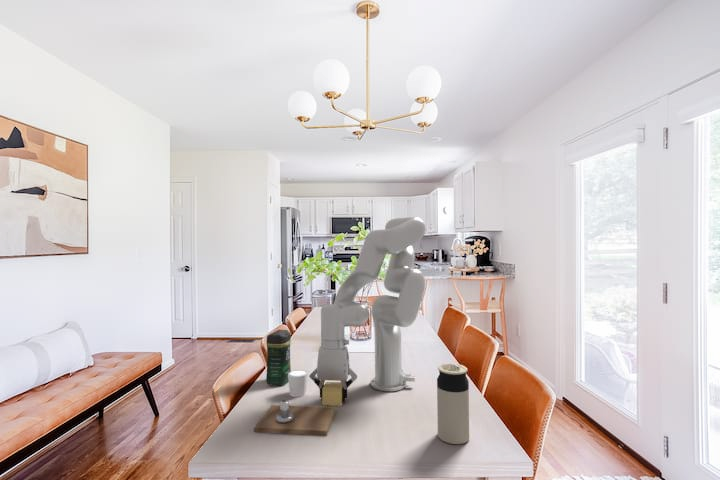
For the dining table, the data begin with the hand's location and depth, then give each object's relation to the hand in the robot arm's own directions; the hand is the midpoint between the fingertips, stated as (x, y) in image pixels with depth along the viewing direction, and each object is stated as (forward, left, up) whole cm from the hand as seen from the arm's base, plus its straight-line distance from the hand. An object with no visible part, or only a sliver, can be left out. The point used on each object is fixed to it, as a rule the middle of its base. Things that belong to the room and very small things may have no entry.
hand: (333, 399), depth 120 cm
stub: (+11, +16, +1) cm, 19 cm away
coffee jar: (+23, -15, -1) cm, 27 cm away
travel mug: (-35, +19, -1) cm, 40 cm away
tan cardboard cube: (0, 0, -1) cm, 1 cm away
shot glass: (+13, -5, -1) cm, 14 cm away
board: (+8, +14, -1) cm, 16 cm away
